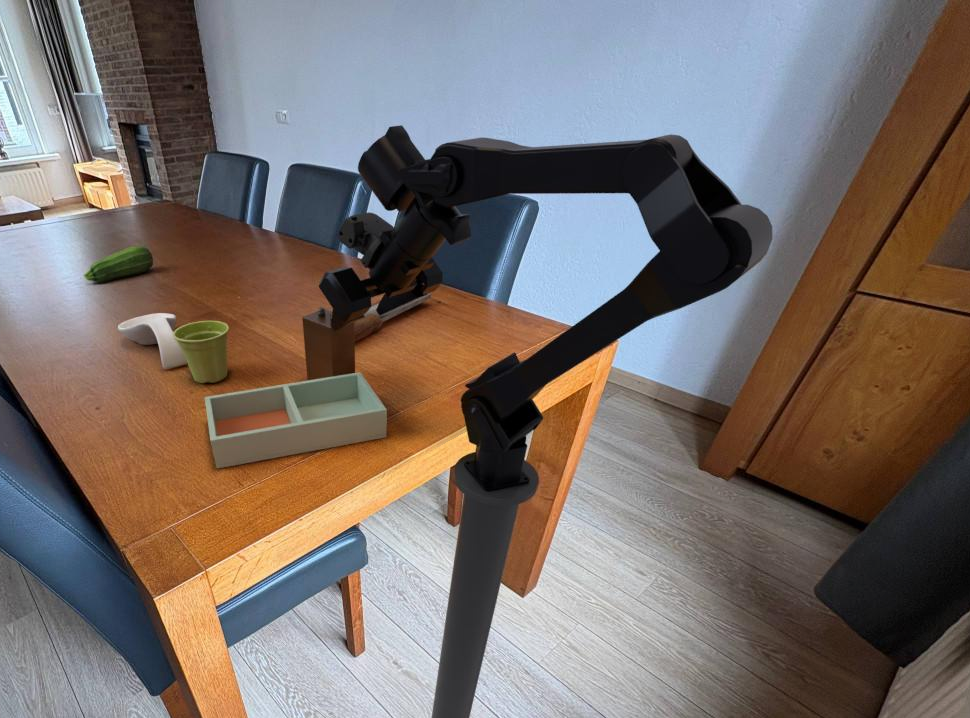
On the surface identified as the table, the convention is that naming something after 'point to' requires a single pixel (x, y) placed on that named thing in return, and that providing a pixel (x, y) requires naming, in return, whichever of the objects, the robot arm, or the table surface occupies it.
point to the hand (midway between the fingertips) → (356, 320)
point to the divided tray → (293, 419)
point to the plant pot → (204, 349)
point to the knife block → (327, 346)
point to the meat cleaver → (380, 318)
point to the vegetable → (121, 264)
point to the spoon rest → (156, 336)
